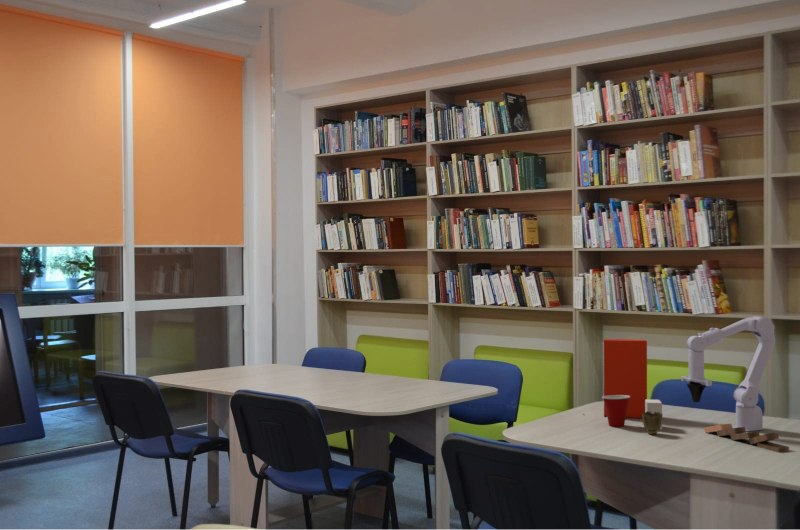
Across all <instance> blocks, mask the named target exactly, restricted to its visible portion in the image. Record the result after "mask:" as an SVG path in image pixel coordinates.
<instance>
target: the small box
mask: <svg viewBox="0 0 800 530" xmlns="http://www.w3.org/2000/svg"><path fill="white" fill-rule="evenodd" d="M647 411H648V412H651V414H652V413H653V414H654V413H655V412H657V413H658V412H659V413H660V414H661V413H662V414H663V403H662V401H661V400H660V399H651V398H649V399H648V398H647V399H645V413H646V412H647ZM658 430H659V431H662V430H663V422H662V423H661V427H660V429H658ZM658 430H657V431H658Z"/></svg>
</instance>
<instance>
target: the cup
mask: <svg viewBox="0 0 800 530" xmlns="http://www.w3.org/2000/svg"><path fill="white" fill-rule="evenodd" d="M641 419H642V425H643V427H644V429H646V430H647V431H646V432H647V434H648V435H652V436H655V435H657V434H658V429H660V427H661V423H662V424H663V412H662V413H661V414H660V413H659V412H658V413H657V412H655V413H654V414H653V413H652V414H651V412H648V411H647V412H646V413H645V412H644V413H643V412H642V418H641Z"/></svg>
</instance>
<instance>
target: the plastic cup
mask: <svg viewBox="0 0 800 530" xmlns="http://www.w3.org/2000/svg"><path fill="white" fill-rule="evenodd" d="M601 398H602V400H603V404H604V403H605V407H606V413H607V417H606V418H607V422H608V425H609V427H613V428H622V427H624V426H625V424H626V423H625V422H626V419H627V417H626V412H627V406H628V401H629V398H630V396H627V395H608V396H604V395H602V397H601Z"/></svg>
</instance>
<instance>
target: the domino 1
mask: <svg viewBox="0 0 800 530" xmlns="http://www.w3.org/2000/svg"><path fill="white" fill-rule="evenodd" d="M731 428H732V423H723V424H718V425H717V424H716V425H711V426H705V427H703V429H704V434H707V433H717V431H719V430H725V429H731Z"/></svg>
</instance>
